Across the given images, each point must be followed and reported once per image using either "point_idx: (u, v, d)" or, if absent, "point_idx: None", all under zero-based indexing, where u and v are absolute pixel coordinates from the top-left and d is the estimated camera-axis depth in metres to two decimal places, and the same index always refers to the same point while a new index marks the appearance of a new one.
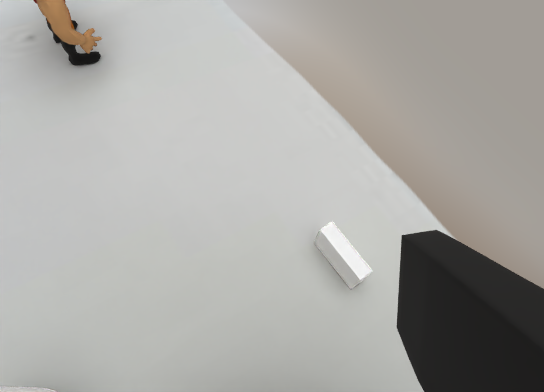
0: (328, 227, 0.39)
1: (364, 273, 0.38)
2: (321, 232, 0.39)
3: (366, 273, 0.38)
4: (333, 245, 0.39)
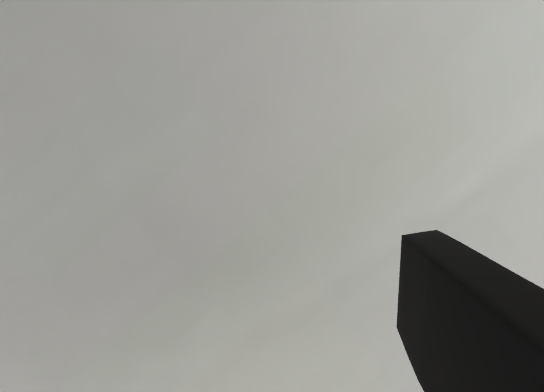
0: None
1: None
2: None
3: None
4: None
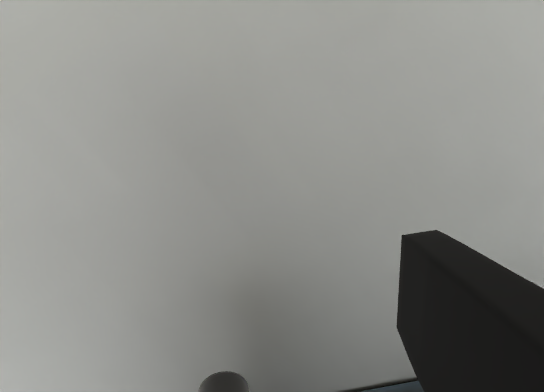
0: None
1: None
2: None
3: None
4: None
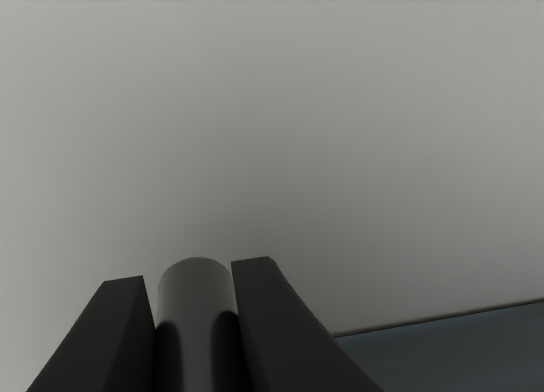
0: None
1: None
2: None
3: None
4: None
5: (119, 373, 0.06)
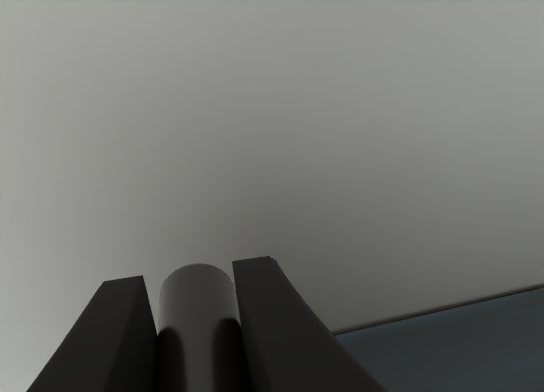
0: None
1: None
2: None
3: None
4: None
5: (119, 373, 0.06)
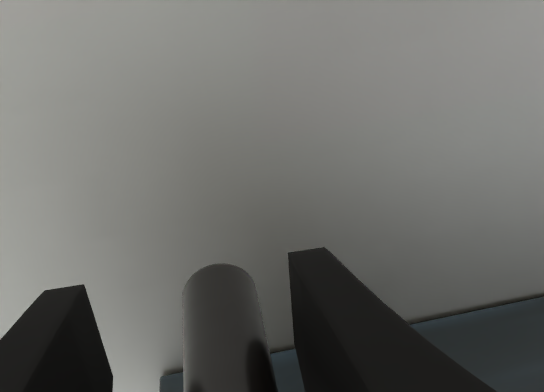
0: None
1: None
2: None
3: None
4: None
5: (41, 386, 0.06)
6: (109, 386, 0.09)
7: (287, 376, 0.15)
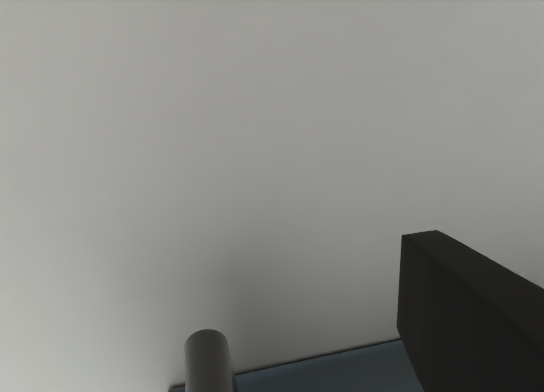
0: None
1: None
2: None
3: None
4: None
5: None
6: None
7: (254, 389, 0.22)
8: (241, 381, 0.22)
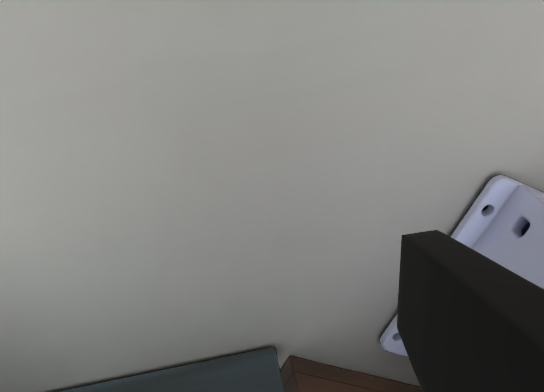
0: None
1: None
2: None
3: None
4: None
5: None
6: None
7: None
8: None
